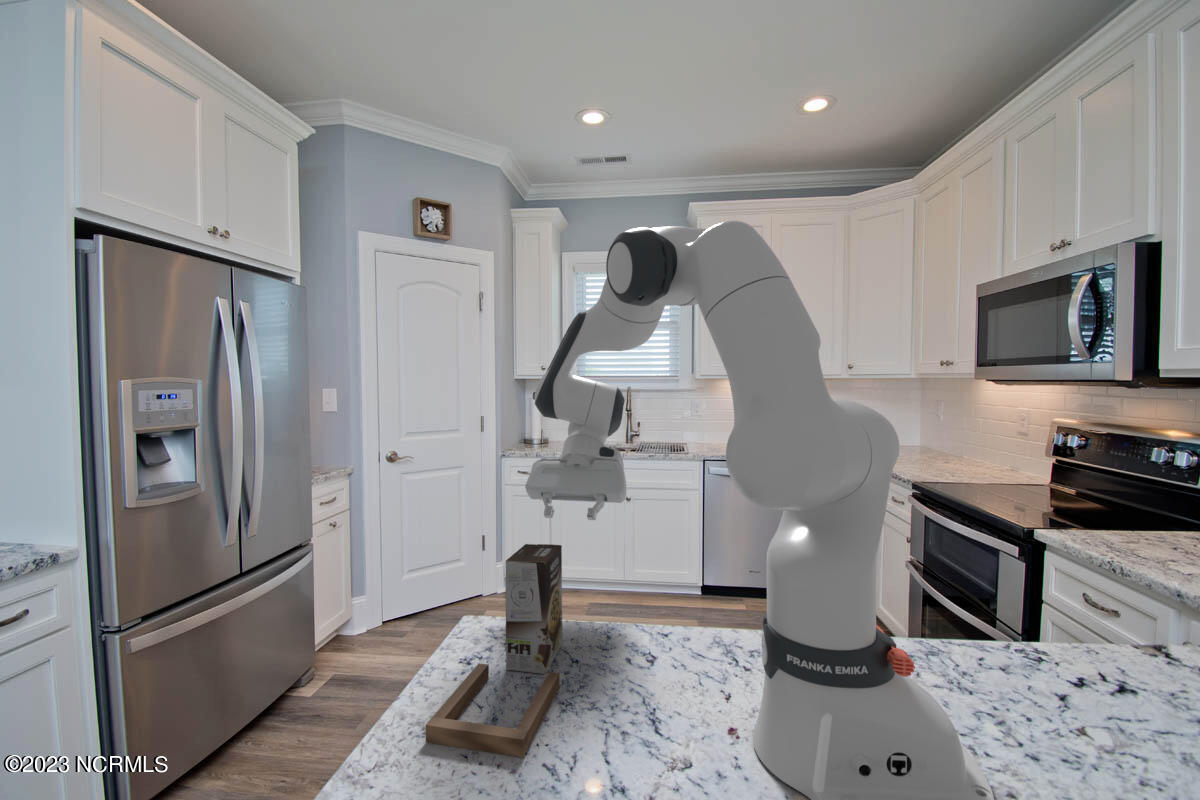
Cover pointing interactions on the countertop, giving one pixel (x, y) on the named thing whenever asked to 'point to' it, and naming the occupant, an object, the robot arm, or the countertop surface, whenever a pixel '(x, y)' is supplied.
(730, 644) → the countertop surface
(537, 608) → the coffee box
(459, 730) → the walnut bay
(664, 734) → the countertop surface
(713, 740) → the countertop surface
